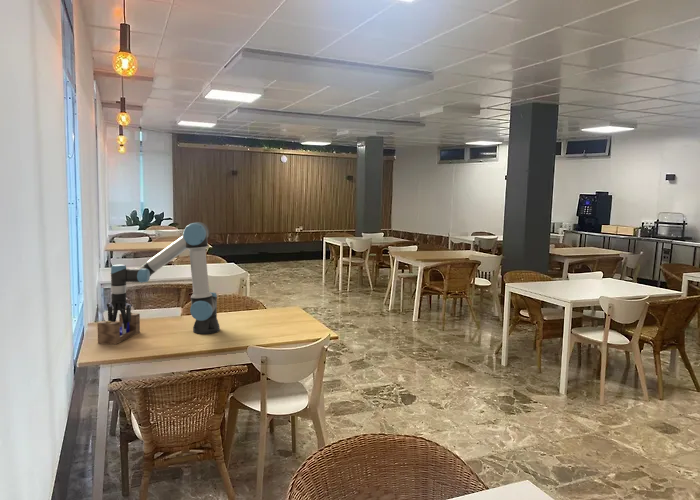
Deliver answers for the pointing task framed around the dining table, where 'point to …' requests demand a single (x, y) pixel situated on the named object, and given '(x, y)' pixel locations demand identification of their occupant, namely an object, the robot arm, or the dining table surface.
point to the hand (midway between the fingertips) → (119, 334)
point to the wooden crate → (117, 330)
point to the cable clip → (126, 329)
